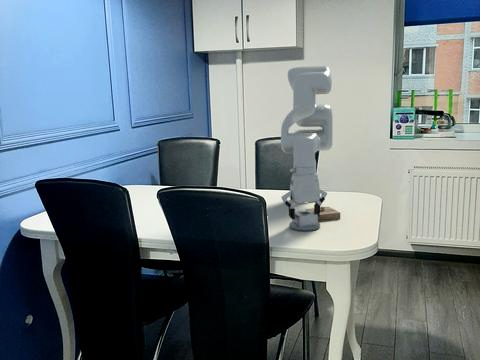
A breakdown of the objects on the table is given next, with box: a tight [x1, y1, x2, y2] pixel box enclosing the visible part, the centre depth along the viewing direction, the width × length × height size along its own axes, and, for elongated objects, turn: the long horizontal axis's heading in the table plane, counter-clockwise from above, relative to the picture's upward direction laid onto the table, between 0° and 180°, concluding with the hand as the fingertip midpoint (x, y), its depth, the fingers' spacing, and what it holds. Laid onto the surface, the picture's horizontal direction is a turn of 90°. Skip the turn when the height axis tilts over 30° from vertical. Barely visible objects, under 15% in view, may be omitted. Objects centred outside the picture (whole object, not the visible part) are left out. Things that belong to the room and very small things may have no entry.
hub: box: [289, 221, 321, 232], centre depth 175 cm, size 11×11×4 cm
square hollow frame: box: [291, 209, 319, 227], centre depth 175 cm, size 7×7×4 cm
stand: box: [305, 206, 341, 222], centre depth 187 cm, size 10×10×4 cm
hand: (304, 216), depth 175 cm, fingers open, 9 cm apart
